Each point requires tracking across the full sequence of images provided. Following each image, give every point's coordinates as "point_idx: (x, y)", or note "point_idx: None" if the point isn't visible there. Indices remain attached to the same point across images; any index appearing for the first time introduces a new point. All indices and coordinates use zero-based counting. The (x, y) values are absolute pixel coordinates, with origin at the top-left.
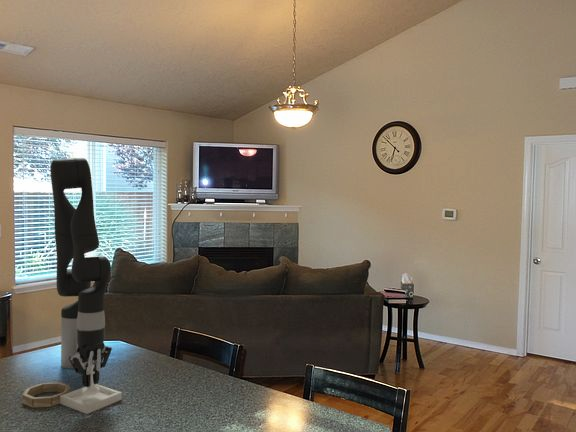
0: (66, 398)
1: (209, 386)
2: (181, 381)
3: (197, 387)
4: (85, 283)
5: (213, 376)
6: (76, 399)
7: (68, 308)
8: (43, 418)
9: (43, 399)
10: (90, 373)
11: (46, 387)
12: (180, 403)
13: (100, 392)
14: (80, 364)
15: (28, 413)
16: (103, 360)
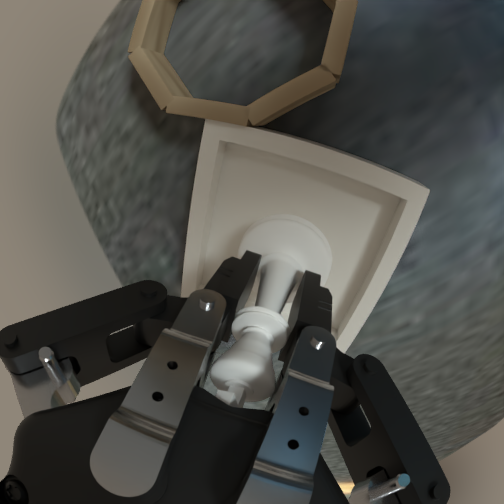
0: (196, 172)
1: (438, 436)
2: (480, 394)
3: (436, 427)
4: None
5: (490, 420)
6: (252, 188)
7: None
8: (110, 168)
9: (148, 85)
10: (236, 339)
11: None
12: None
13: (366, 249)
14: (96, 376)
15: (114, 91)
16: (338, 435)
